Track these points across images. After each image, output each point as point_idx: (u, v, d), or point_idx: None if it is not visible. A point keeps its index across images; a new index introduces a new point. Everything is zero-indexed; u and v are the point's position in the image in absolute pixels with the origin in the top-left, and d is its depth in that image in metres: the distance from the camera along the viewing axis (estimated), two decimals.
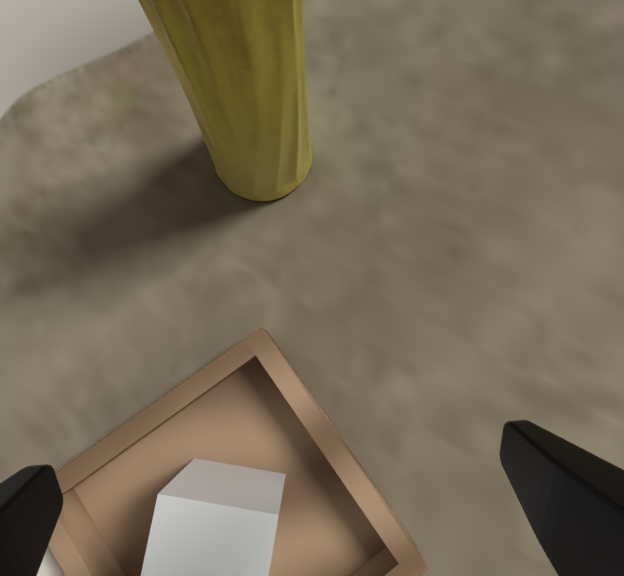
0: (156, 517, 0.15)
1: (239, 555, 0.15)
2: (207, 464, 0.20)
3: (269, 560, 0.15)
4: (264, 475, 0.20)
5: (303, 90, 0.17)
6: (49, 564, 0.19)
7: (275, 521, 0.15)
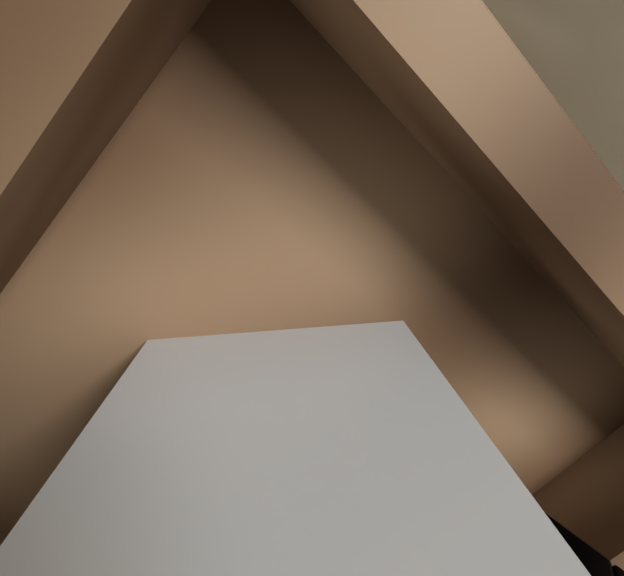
0: None
1: None
2: (187, 352, 0.07)
3: None
4: (357, 343, 0.07)
5: None
6: None
7: None
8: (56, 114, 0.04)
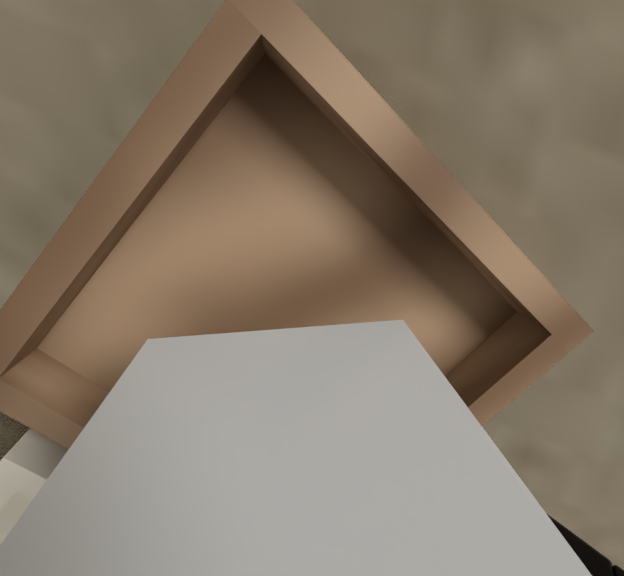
0: None
1: None
2: (188, 350, 0.07)
3: None
4: (357, 341, 0.07)
5: None
6: None
7: None
8: (180, 139, 0.10)
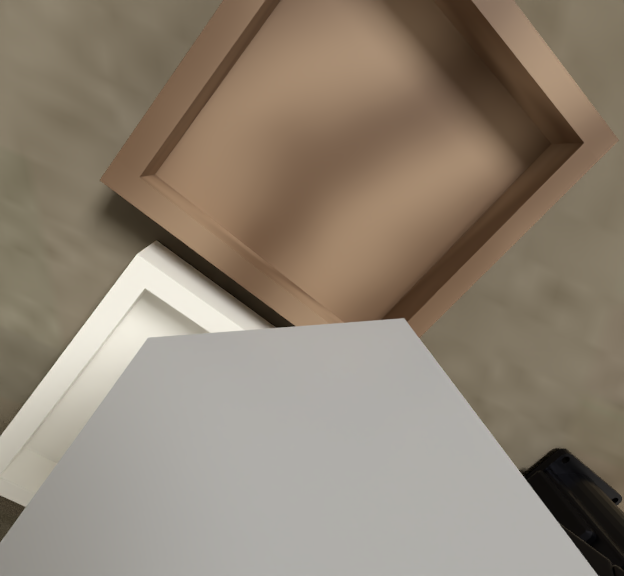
0: None
1: None
2: (188, 349, 0.07)
3: None
4: (358, 340, 0.07)
5: None
6: (167, 259, 0.16)
7: None
8: None
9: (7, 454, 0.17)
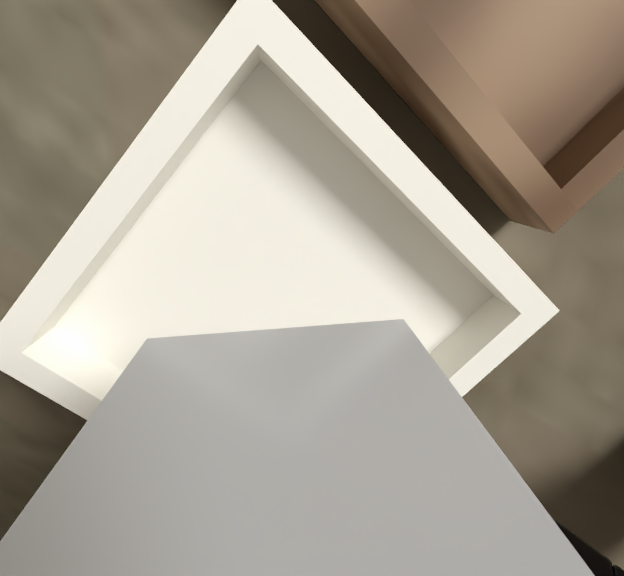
0: None
1: None
2: (186, 350, 0.07)
3: None
4: (357, 341, 0.07)
5: None
6: None
7: None
8: None
9: (34, 317, 0.12)
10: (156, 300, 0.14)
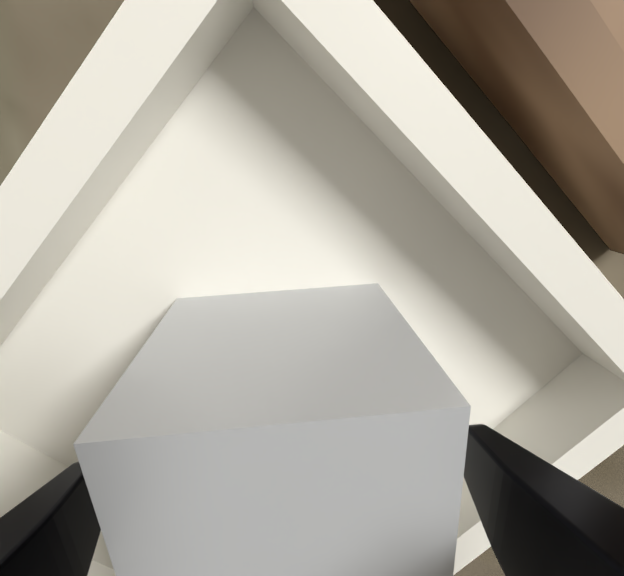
0: (102, 496, 0.05)
1: (372, 516, 0.05)
2: (209, 304, 0.09)
3: (455, 505, 0.06)
4: (340, 297, 0.09)
5: None
6: None
7: (462, 423, 0.05)
8: None
9: None
10: (104, 367, 0.10)
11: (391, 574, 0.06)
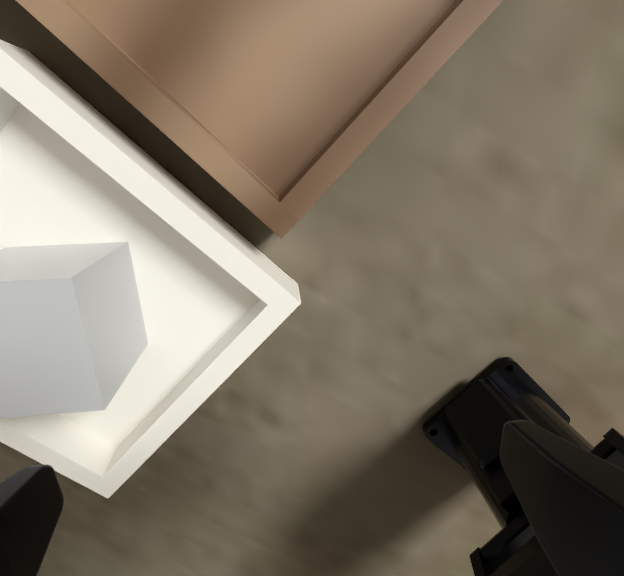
0: None
1: (42, 330, 0.12)
2: (19, 249, 0.16)
3: (82, 327, 0.13)
4: (94, 247, 0.16)
5: None
6: (34, 64, 0.14)
7: (71, 285, 0.12)
8: None
9: None
10: None
11: (62, 363, 0.13)
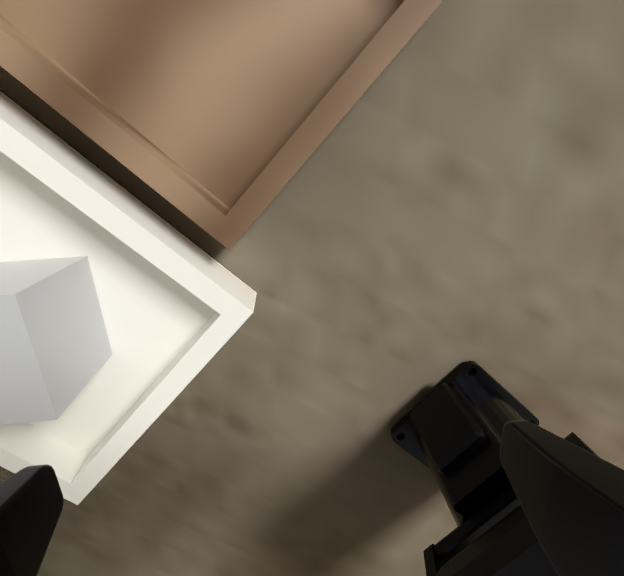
0: None
1: None
2: None
3: (29, 341, 0.13)
4: (53, 262, 0.16)
5: None
6: None
7: (15, 301, 0.13)
8: None
9: None
10: None
11: (12, 375, 0.14)
